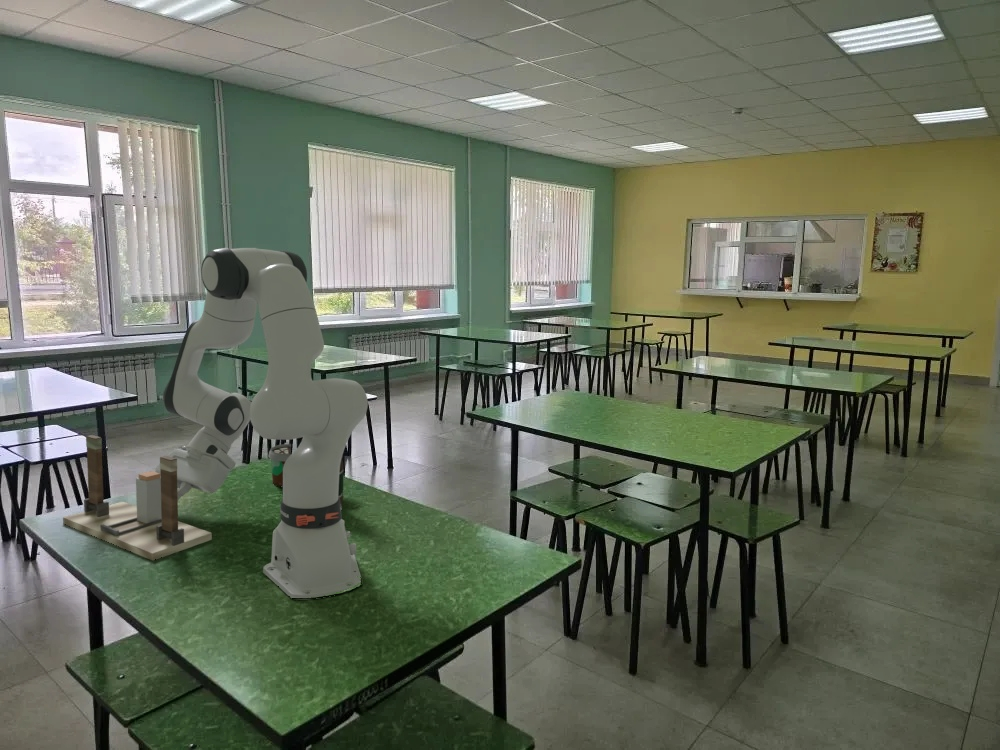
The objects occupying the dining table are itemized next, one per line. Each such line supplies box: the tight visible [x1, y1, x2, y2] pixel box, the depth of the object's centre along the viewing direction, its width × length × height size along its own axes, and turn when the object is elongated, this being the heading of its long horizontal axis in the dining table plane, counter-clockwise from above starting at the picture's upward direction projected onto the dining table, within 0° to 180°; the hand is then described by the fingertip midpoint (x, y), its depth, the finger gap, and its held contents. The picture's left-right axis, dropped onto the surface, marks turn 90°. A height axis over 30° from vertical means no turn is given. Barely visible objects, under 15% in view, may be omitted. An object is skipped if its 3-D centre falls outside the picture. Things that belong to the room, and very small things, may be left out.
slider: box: [135, 470, 162, 524], centre depth 154 cm, size 4×4×11 cm
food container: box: [267, 443, 292, 487], centre depth 191 cm, size 12×6×10 cm, turn 17°
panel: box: [62, 497, 213, 562], centre depth 152 cm, size 34×14×5 cm, turn 60°
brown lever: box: [159, 455, 179, 539], centre depth 143 cm, size 2×4×18 cm, turn 60°
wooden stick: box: [85, 434, 104, 511], centre depth 157 cm, size 2×4×18 cm, turn 60°
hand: (170, 499), depth 159 cm, fingers closed
